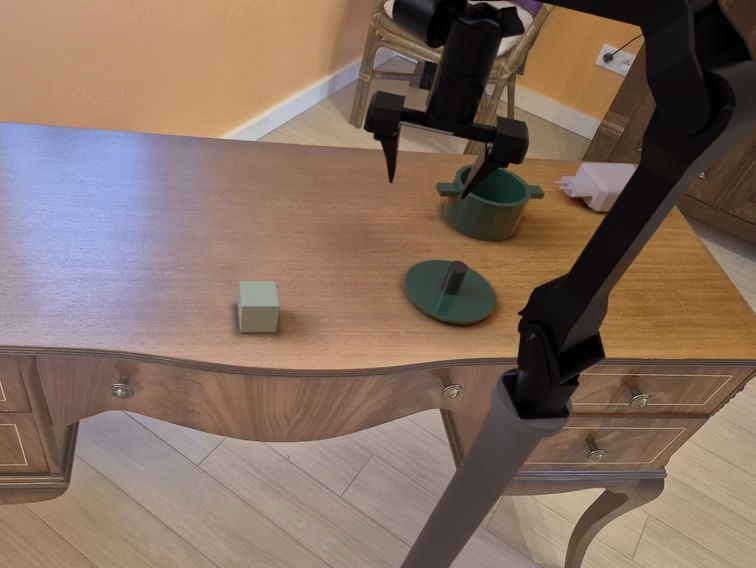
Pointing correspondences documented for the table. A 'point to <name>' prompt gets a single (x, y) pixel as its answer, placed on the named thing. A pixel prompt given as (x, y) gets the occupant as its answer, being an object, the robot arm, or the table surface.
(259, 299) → the block
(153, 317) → the table surface
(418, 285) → the lid
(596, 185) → the charger
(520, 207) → the pot
